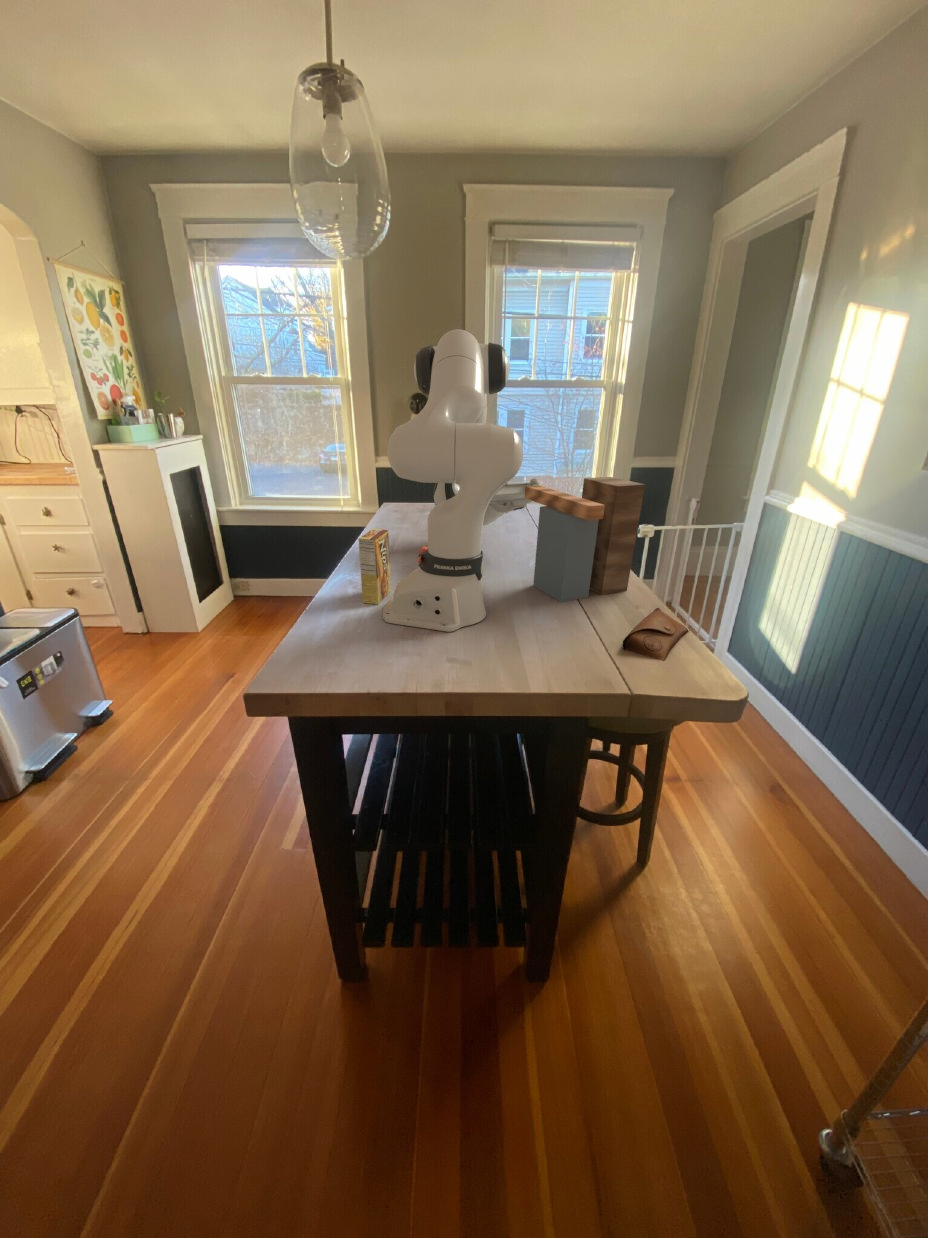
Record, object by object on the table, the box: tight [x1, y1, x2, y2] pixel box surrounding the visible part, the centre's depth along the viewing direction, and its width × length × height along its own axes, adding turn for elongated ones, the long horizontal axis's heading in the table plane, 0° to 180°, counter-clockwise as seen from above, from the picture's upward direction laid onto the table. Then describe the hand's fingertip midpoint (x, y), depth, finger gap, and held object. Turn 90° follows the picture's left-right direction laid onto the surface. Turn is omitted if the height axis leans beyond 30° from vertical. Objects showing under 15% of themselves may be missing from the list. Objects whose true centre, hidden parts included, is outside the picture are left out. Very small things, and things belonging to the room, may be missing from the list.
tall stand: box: [581, 476, 646, 596], centre depth 119 cm, size 12×8×26 cm, turn 25°
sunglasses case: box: [621, 607, 690, 662], centre depth 97 cm, size 18×7×7 cm, turn 143°
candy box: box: [358, 528, 391, 605], centre depth 111 cm, size 9×4×15 cm, turn 170°
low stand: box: [533, 505, 599, 603], centre depth 115 cm, size 12×8×20 cm, turn 25°
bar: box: [525, 485, 605, 520], centre depth 113 cm, size 26×4×3 cm, turn 25°
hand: (520, 481), depth 128 cm, fingers open, 8 cm apart
